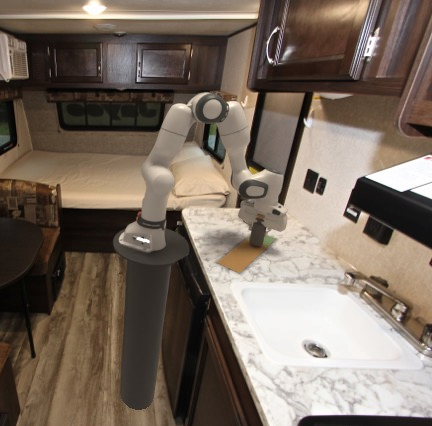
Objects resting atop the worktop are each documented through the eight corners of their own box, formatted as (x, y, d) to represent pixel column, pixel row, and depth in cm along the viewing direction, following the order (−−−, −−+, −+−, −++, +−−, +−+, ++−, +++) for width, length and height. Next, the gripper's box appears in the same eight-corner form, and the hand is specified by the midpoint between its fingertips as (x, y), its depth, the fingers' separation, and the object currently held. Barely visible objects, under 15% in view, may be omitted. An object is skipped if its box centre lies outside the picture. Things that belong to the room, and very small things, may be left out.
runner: (239, 273, 117) (239, 273, 117) (216, 262, 123) (216, 262, 123) (268, 246, 137) (268, 246, 137) (247, 238, 143) (247, 238, 143)
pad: (268, 246, 137) (268, 246, 137) (247, 238, 143) (247, 238, 143) (276, 239, 143) (276, 238, 143) (255, 231, 149) (255, 231, 149)
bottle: (246, 242, 137) (252, 213, 131) (252, 239, 140) (258, 210, 134) (259, 247, 132) (265, 217, 127) (264, 243, 136) (271, 214, 130)
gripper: (238, 200, 133) (232, 227, 139) (287, 214, 120) (278, 243, 126) (244, 196, 137) (238, 223, 143) (292, 210, 124) (283, 238, 130)
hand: (257, 232), depth 134 cm, fingers closed on bottle, 5 cm apart
